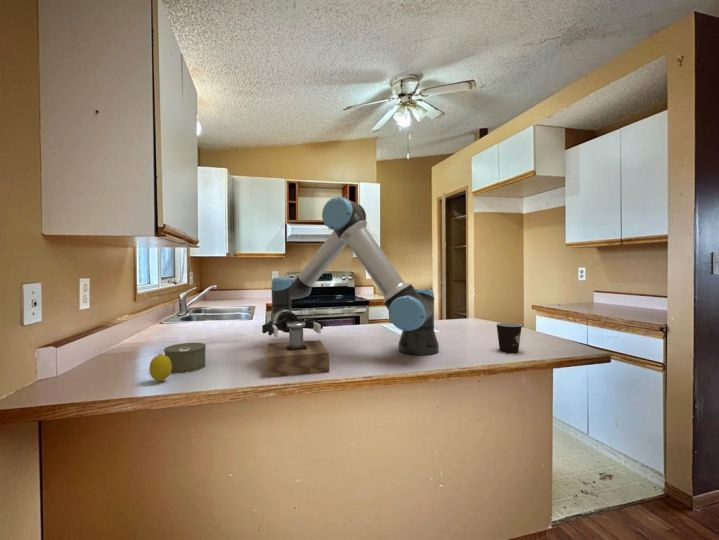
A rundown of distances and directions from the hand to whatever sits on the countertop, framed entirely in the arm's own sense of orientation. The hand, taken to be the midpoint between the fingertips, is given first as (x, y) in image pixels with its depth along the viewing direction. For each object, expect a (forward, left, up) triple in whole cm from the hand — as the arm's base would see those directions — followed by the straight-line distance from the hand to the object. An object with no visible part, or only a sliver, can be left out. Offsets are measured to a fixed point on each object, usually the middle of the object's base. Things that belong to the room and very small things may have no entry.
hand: (298, 331), depth 111 cm
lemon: (+33, +20, -12) cm, 41 cm away
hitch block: (+2, -3, -12) cm, 12 cm away
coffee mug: (-68, -40, -12) cm, 80 cm away
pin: (+2, -3, -12) cm, 12 cm away
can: (+36, +7, -12) cm, 39 cm away
